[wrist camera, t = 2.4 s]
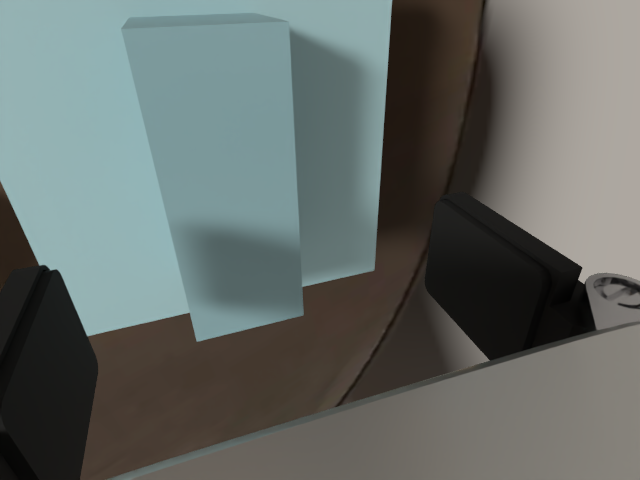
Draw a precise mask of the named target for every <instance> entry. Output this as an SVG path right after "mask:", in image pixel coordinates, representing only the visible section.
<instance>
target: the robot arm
mask: <svg viewBox="0 0 640 480" xmlns="http://www.w3.org/2000/svg"><path fill="white" fill-rule="evenodd" d="M581 270H582V267H581V266H579V265H578V264H576V263H575V262H573V261H572V260H570V259H568V258H567V257H565V256H564V255H562V254H561V253H559V252H558V251H556V250H554V249H553V248H551V247H549V246H548V245H546V244H545V243H543V242H542V241H540V240H539V239H537V238H535V237H534V236H532V235H531V234H529V233H528V232H526V231H525V230H523V229H521V228H520V227H518V226H517V225H515V224H514V223H512V222H510V221H509V220H507V219H506V218H504V217H503V216H501V215H499V214H498V213H496V212H495V211H493V210H492V209H490V208H489V207H487V206H485V205H484V204H482V203H480V202H479V201H478V200H476V199H474V198H473V197H471V196H470V195H468V194H467V193H464V192H459V193H453V194H447V195H443V196H442V197H441V198H440V200H439V201H438V202H437V203H436V204H435V208H434V215H433V223H432V230H431V238H430V245H429V253H428V260H427V268H426V275H425V286H426V289H427V291H428V293H429V294H430V295H431V296H432V297H433V298H434V299H435V300H436V301H437V303H438V304H439V305H440V306H441V307H442V308H443V309H444V310H445V311H446V312H447V314H448V315H449V316H450V317H451V318H452V319H453V320H454V321H455V322H456V323H457V325H458V326H459V327H460V328H461V329H462V330H463V331H464V332H465V334H466V335H468V337H469V338H470V339H471V340H472V341H473V342H474V343H475V345H476V346H477V347H478V348H479V349H480V350H481V351H482V352H483V353H484V354H485V355H486V356H487V358H488V359H489V360H490V361H488V362H484V363H481V364H477V365H474V366H471V367H468V368H464V369H461V370H457V371H454V372H451V373H447V374H444V375H441V376H438V377H434V378H431V379H427V380H424V381H421V382H417V383H414V384H411V385H408V386H404V387H401V388H398V389H395V390H391V391H388V392H384V393H382V394H378V395H375V396H371V397H368V398H365V399H362V400H358V401H355V402H352V403H348V404H345V405H342V406H339V407H335V408H332V409H329V410H325V411H322V412H319V413H316V414H312V415H309V416H306V417H303V418H299V419H296V420H293V421H290V422H286V423H283V424H280V425H277V426H274V427H270V428H267V429H264V430H261V431H257V432H254V433H251V434H248V435H245V436H241V437H238V438H235V439H232V440H228V441H225V442H222V443H219V444H216V445H212V446H209V447H206V448H203V449H199V450H196V451H193V452H190V453H187V454H183V455H180V456H177V457H174V458H170V459H167V460H164V461H161V462H158V463H155V464H152V465H149V466H146V467H143V468H140V469H137V470H134V471H131V472H128V473H125V474H121V475H118V476H115V477H112V478H109V479H106V480H640V281H638V280H636V279H633V278H630V277H627V276H623V275H618V274H611V273H599V274H594V275H591V276H589V277H588V279H586V281H585V284H583V283H582V282H580V281H579V280H578V278H579V275H580V273H581ZM97 375H98V363H97V359H96V356H95V353H94V351H93V349H92V346H91V344H90V342H89V339H88V337H87V334H86V332H85V330H84V327H83V325H82V323H81V320H80V318H79V316H78V313H77V311H76V308H75V306H74V304H73V301H72V299H71V297H70V294H69V292H68V290H67V287H66V285H65V282H64V280H63V278H62V275H61V273H60V272H59V271H58V270H57V269H55V270H50V269H49V268H48V267H47V266H46V265H40V266H34V267H28V268H22V269H17V270H13V271H12V272H11V274H10V276H9V277H8V279H7V281H6V283H5V285H4V287H3V288H2V290H1V292H0V480H80V475H81V469H82V463H83V457H84V452H85V446H86V440H87V434H88V428H89V422H90V416H91V411H92V405H93V399H94V393H95V387H96V381H97Z"/></svg>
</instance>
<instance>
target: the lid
mask: <svg viewBox="0 0 640 480" xmlns="http://www.w3.org/2000/svg"><path fill="white" fill-rule="evenodd" d="M391 9H392V0H0V181H1V183H2V185H3V187H4V189H5V192H6V194H7V196H8V198H9V200H10V202H11V205H12V207H13V209H14V211H15V213H16V216H17V218H18V220H19V222H20V224H21V226H22V229H23V231H24V233H25V235H26V237H27V239H28V242H29V244H30V246H31V248H32V250H33V252H34V255H35V257H36V259H37V261H38V263H39V265H46V266H47V267H48V268H49V269H50V270H55V269H57V270H58V271H59V272H60V273H61V275H62V278H63V280H64V282H65V285H66V287H67V290H68V292H69V294H70V297H71V299H72V301H73V304H74V306H75V308H76V311H77V313H78V316H79V318H80V320H81V323H82V325H83V327H84V330H85V332H86V334H87V336H89V335H94V334H98V333H103V332H107V331H111V330H116V329H120V328H124V327H129V326H133V325H137V324H142V323H146V322H151V321H155V320H159V319H164V318H168V317H172V316H177V315H181V314H186V313H190V315H191V319H192V323H193V327H194V332H195V336H196V340H197V342H198V341H202V340H206V339H210V338H214V337H218V336H222V335H226V334H230V333H234V332H238V331H242V330H246V329H250V328H254V327H258V326H262V325H266V324H270V323H274V322H278V321H282V320H286V319H290V318H294V317H298V316H302V315H304V314H303V294H302V287H303V286H308V285H312V284H317V283H321V282H325V281H330V280H334V279H338V278H343V277H347V276H351V275H356V274H360V273H365V272H369V271H373V270H374V267H375V252H376V237H377V222H378V206H379V191H380V176H381V161H382V146H383V131H384V115H385V100H386V85H387V70H388V55H389V40H390V24H391Z"/></svg>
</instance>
